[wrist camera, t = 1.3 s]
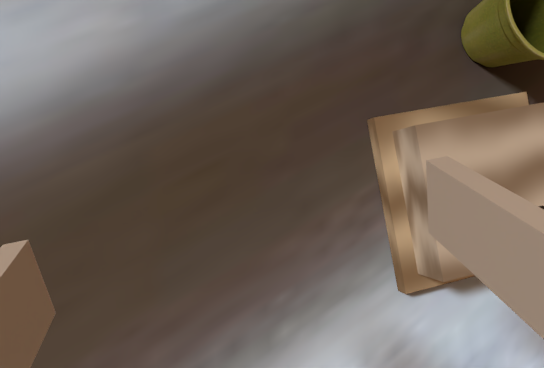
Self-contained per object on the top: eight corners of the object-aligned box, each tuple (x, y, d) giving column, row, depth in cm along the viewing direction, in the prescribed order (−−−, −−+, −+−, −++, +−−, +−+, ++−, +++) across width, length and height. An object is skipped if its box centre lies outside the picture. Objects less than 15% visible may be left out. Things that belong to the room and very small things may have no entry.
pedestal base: (543, 253, 47) (591, 261, 42) (398, 290, 44) (430, 304, 38) (515, 94, 47) (560, 82, 41) (367, 120, 43) (395, 109, 38)
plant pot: (469, 100, 46) (537, 79, 37) (428, 11, 45) (489, -32, 36) (542, 62, 48) (623, 33, 39) (504, -25, 47) (578, -73, 38)
